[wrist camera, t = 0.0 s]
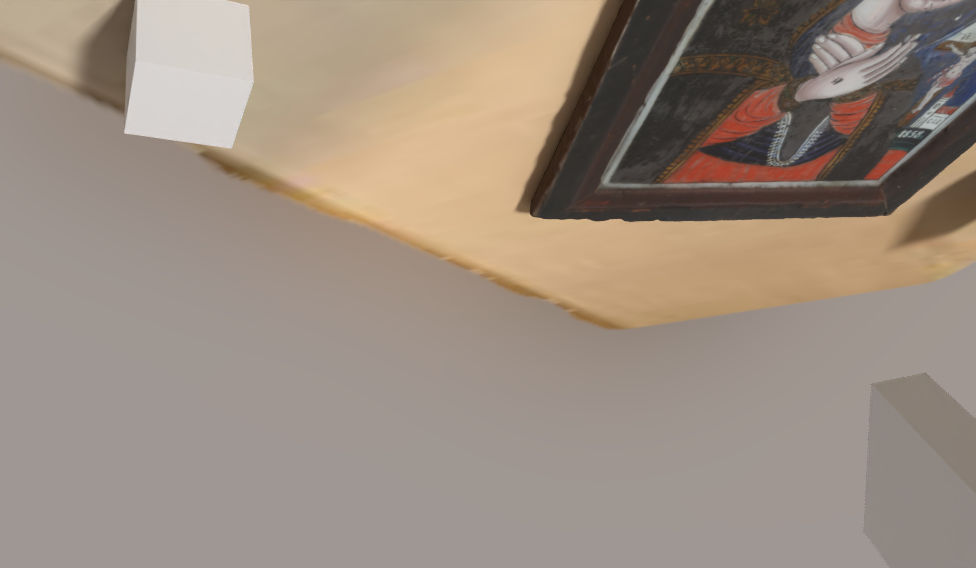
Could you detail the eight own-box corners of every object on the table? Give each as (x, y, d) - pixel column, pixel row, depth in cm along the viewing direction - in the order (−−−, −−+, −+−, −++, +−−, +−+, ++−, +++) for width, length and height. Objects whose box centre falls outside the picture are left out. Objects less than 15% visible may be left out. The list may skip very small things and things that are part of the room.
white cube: (126, 55, 48) (123, 133, 46) (137, -22, 44) (134, 60, 41) (229, 74, 51) (232, 149, 49) (249, 4, 47) (253, 82, 44)
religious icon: (1401, -262, 45) (1439, -230, 44) (885, 194, 83) (897, 218, 82) (796, -403, 34) (822, -366, 33) (520, 199, 72) (526, 227, 71)
